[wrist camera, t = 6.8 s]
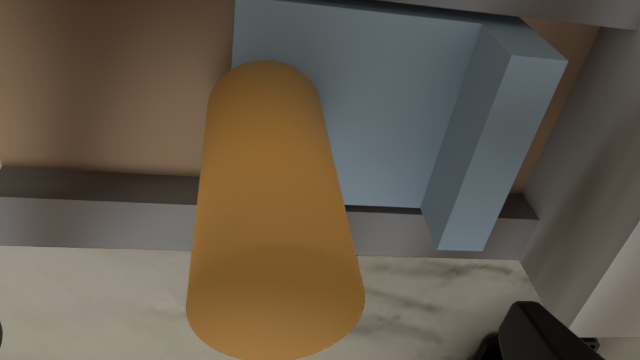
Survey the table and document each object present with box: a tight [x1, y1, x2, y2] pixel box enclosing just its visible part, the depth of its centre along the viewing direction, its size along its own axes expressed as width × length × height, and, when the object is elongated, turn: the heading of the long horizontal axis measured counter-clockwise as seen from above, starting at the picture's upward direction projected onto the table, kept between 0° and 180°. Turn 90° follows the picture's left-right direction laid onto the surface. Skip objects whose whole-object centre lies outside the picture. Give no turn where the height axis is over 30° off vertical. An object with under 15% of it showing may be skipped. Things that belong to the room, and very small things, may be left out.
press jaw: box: [186, 0, 568, 360], centre depth 13 cm, size 9×6×8 cm
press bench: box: [0, 0, 640, 337], centre depth 16 cm, size 22×12×6 cm, turn 81°
